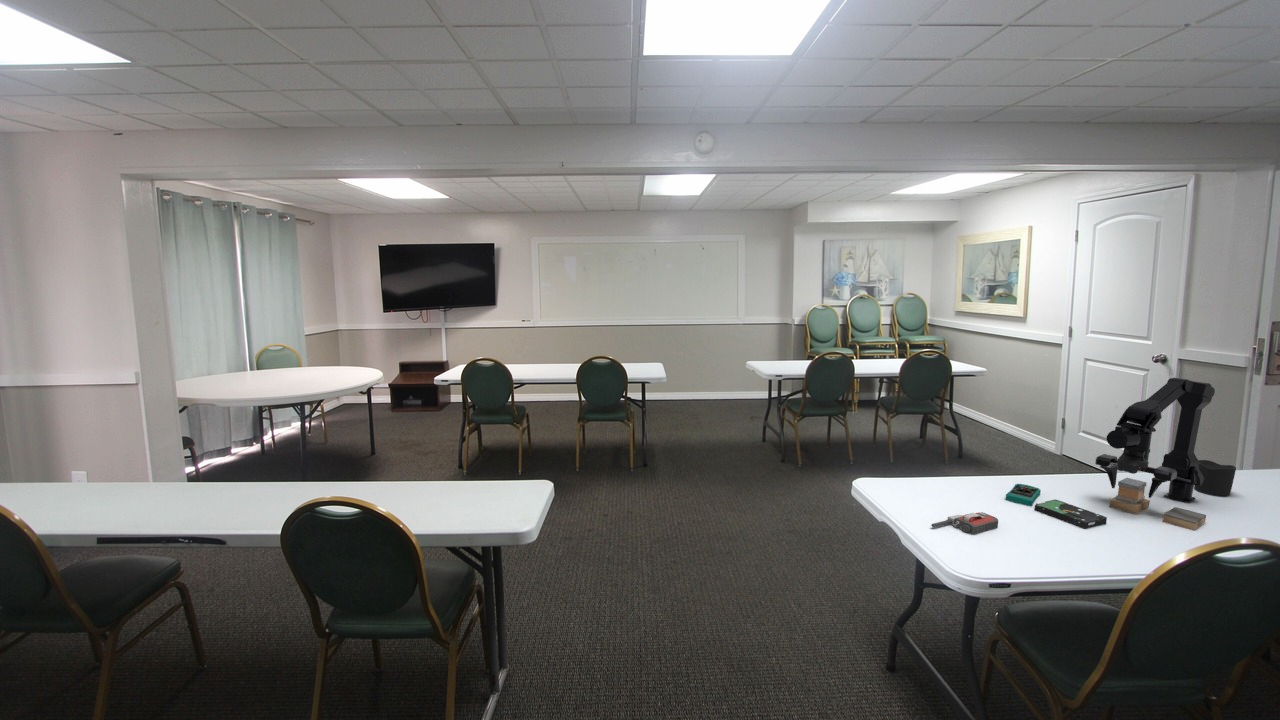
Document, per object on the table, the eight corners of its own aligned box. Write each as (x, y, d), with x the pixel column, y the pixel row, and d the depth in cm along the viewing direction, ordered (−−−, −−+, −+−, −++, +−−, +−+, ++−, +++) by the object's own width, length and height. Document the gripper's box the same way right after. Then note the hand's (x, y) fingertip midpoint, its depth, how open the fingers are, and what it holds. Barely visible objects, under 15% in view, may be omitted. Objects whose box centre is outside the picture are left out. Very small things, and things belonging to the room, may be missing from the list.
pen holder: (1217, 488, 195) (1222, 461, 193) (1239, 498, 186) (1244, 469, 184) (1185, 486, 197) (1189, 458, 195) (1205, 496, 188) (1210, 467, 186)
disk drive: (1106, 525, 166) (1054, 506, 180) (1107, 517, 166) (1055, 498, 179) (1084, 531, 162) (1033, 511, 176) (1086, 522, 162) (1034, 503, 175)
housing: (1124, 495, 182) (1126, 477, 181) (1144, 500, 178) (1146, 482, 177) (1115, 499, 178) (1118, 481, 177) (1135, 504, 174) (1138, 486, 173)
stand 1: (1121, 500, 184) (1122, 493, 183) (1148, 507, 178) (1149, 500, 177) (1109, 506, 178) (1110, 499, 178) (1137, 514, 173) (1138, 506, 172)
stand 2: (1173, 514, 173) (1175, 506, 172) (1205, 522, 167) (1206, 514, 167) (1162, 521, 168) (1163, 513, 167) (1194, 530, 162) (1195, 522, 161)
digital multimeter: (1040, 495, 189) (1041, 487, 188) (1031, 508, 178) (1032, 499, 178) (1015, 489, 194) (1016, 481, 194) (1004, 501, 184) (1005, 493, 183)
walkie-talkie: (973, 517, 171) (928, 528, 163) (975, 503, 171) (929, 514, 163) (1002, 528, 163) (956, 541, 155) (1003, 514, 163) (957, 526, 155)
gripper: (1091, 442, 179) (1085, 488, 181) (1168, 457, 163) (1160, 508, 165) (1105, 437, 185) (1099, 481, 187) (1180, 451, 169) (1173, 500, 171)
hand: (1131, 492), depth 177 cm, fingers open, 9 cm apart
